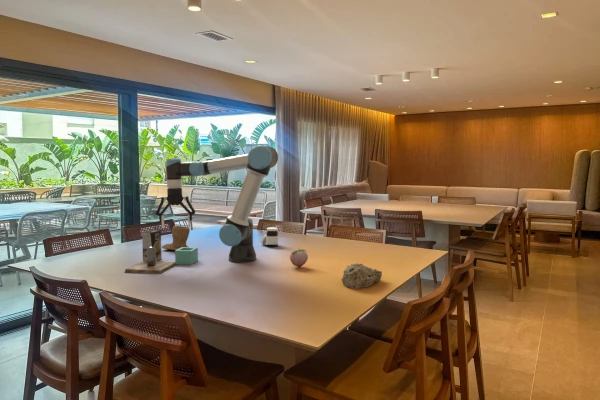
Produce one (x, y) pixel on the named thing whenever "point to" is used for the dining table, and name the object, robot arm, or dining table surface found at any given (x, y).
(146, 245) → the coffee box
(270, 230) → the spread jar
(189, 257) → the teal hollow square block
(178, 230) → the brown piece
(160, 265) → the base plate
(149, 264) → the post
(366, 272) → the rock
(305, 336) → the dining table surface
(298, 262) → the decorative fruit
